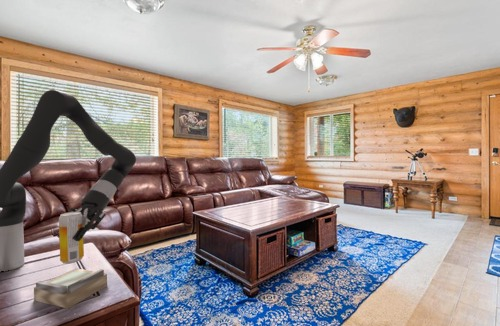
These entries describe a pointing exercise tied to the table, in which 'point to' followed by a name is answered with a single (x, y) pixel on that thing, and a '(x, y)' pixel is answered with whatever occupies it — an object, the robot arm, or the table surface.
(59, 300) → the square tray
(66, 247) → the beer can
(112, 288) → the table surface
